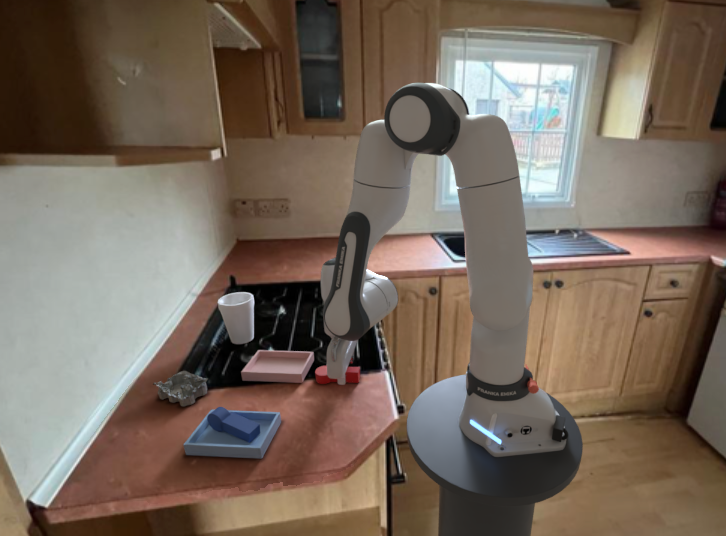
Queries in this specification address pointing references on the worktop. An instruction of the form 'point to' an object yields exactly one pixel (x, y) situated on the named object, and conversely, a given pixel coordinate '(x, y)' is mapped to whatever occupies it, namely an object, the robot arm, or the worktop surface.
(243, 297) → the foam cup
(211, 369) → the worktop surface
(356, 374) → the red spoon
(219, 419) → the dark blue block
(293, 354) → the rose tray
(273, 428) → the blue tray
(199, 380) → the egg carton
